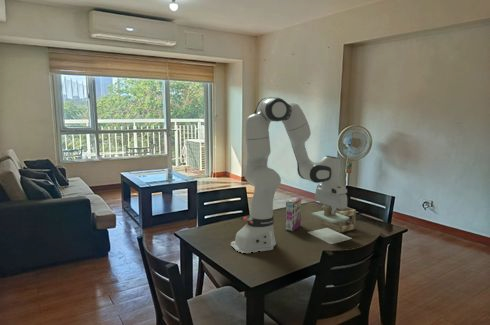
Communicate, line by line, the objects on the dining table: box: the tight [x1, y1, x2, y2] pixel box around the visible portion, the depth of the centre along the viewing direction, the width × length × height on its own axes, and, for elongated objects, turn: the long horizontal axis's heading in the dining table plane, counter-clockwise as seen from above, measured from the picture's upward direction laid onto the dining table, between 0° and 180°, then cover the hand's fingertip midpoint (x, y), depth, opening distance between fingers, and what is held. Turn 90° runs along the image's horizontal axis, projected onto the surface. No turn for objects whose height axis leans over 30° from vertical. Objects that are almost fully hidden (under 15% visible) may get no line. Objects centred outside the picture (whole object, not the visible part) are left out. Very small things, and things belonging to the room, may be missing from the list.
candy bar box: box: [284, 196, 302, 232], centre depth 186 cm, size 11×5×16 cm, turn 149°
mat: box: [307, 227, 352, 245], centre depth 175 cm, size 14×18×1 cm
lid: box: [310, 208, 350, 223], centre depth 173 cm, size 12×16×6 cm
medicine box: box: [333, 210, 347, 226], centre depth 188 cm, size 8×4×9 cm, turn 84°
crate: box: [320, 205, 357, 234], centre depth 188 cm, size 11×15×11 cm
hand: (329, 213), depth 173 cm, fingers closed on lid
